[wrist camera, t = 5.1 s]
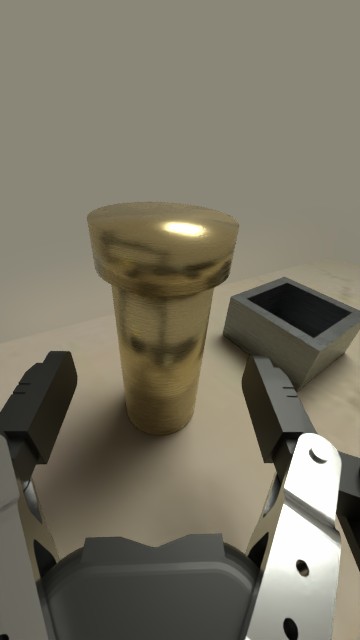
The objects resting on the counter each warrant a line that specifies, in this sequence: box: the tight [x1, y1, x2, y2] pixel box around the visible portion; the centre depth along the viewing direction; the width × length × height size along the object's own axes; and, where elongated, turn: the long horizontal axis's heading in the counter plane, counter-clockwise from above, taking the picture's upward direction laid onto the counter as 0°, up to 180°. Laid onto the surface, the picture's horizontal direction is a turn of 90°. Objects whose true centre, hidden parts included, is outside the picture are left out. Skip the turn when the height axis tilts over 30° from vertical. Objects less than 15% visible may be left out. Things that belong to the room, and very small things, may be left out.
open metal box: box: [223, 277, 360, 391], centre depth 23 cm, size 9×9×4 cm
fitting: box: [87, 202, 239, 435], centre depth 14 cm, size 6×6×13 cm
